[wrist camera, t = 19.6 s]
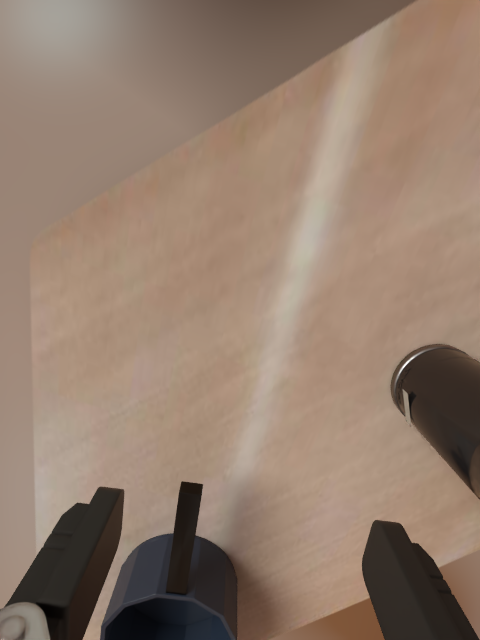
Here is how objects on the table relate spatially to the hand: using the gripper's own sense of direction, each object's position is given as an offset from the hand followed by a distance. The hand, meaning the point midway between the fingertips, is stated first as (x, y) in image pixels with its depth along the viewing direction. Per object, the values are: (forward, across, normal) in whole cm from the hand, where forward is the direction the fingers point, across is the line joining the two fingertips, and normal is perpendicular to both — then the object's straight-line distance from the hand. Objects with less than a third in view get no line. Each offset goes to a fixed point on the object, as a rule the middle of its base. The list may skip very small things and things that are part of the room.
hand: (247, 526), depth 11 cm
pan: (+28, -3, -31) cm, 42 cm away
